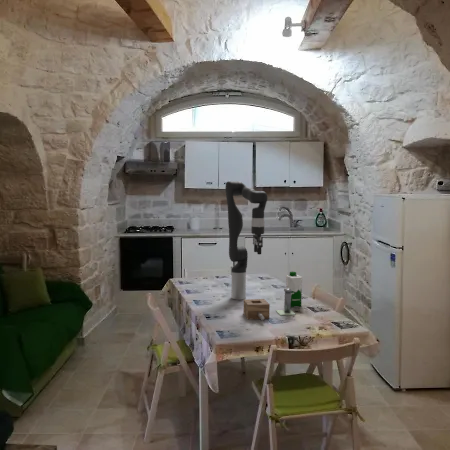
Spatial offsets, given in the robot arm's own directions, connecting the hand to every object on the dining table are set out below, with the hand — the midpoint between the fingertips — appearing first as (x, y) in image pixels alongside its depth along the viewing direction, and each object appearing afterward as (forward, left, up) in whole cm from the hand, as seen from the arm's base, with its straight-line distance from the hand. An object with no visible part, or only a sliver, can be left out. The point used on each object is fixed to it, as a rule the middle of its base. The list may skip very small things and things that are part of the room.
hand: (257, 253), depth 272 cm
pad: (+12, +14, -33) cm, 38 cm away
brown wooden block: (+20, -4, -33) cm, 39 cm away
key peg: (+12, +15, -32) cm, 38 cm away
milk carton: (-4, +24, -33) cm, 41 cm away
